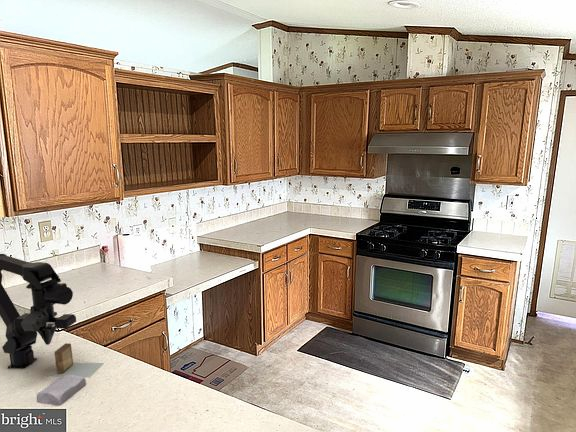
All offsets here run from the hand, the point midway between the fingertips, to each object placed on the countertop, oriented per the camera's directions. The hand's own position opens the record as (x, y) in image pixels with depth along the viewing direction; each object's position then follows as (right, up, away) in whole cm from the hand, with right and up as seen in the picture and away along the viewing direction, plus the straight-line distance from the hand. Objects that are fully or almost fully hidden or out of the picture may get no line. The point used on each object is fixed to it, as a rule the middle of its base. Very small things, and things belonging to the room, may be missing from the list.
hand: (48, 344), depth 139 cm
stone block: (+11, -12, -12) cm, 21 cm away
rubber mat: (+9, -9, +1) cm, 13 cm away
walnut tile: (+5, -9, +1) cm, 10 cm away
